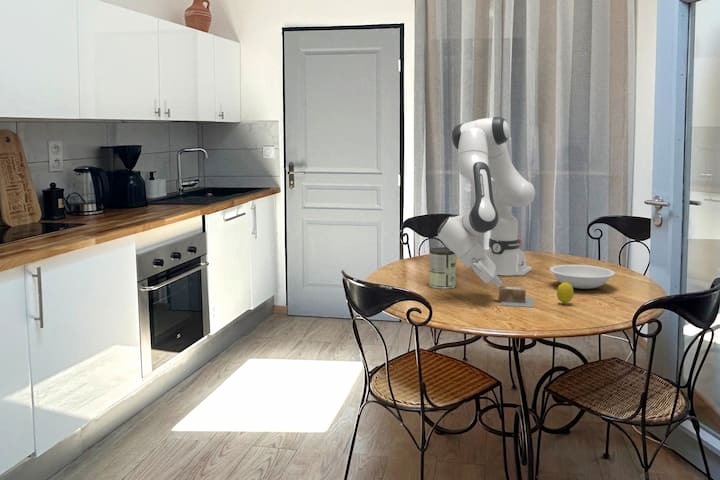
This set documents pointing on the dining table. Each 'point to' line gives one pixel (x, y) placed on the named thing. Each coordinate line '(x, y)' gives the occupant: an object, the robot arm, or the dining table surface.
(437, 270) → the coffee can
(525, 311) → the dining table surface
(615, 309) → the dining table surface
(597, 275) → the soup bowl
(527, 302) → the grey mat
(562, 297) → the lemon
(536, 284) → the dining table surface
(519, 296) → the walnut block
